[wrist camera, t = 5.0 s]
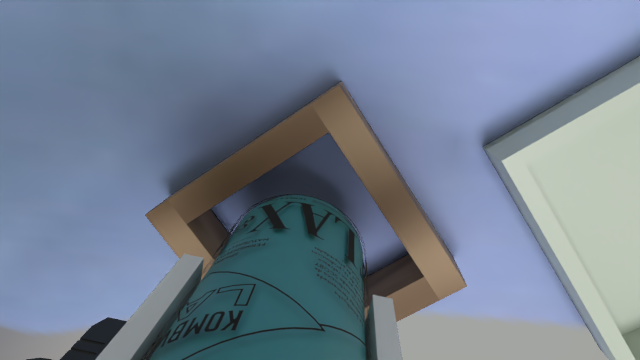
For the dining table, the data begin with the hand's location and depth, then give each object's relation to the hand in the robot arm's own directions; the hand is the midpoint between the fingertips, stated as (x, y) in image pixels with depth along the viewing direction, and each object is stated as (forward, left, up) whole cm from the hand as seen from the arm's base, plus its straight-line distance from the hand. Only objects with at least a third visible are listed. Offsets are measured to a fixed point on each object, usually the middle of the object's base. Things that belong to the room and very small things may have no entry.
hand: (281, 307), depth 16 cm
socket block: (0, 0, -8) cm, 8 cm away
